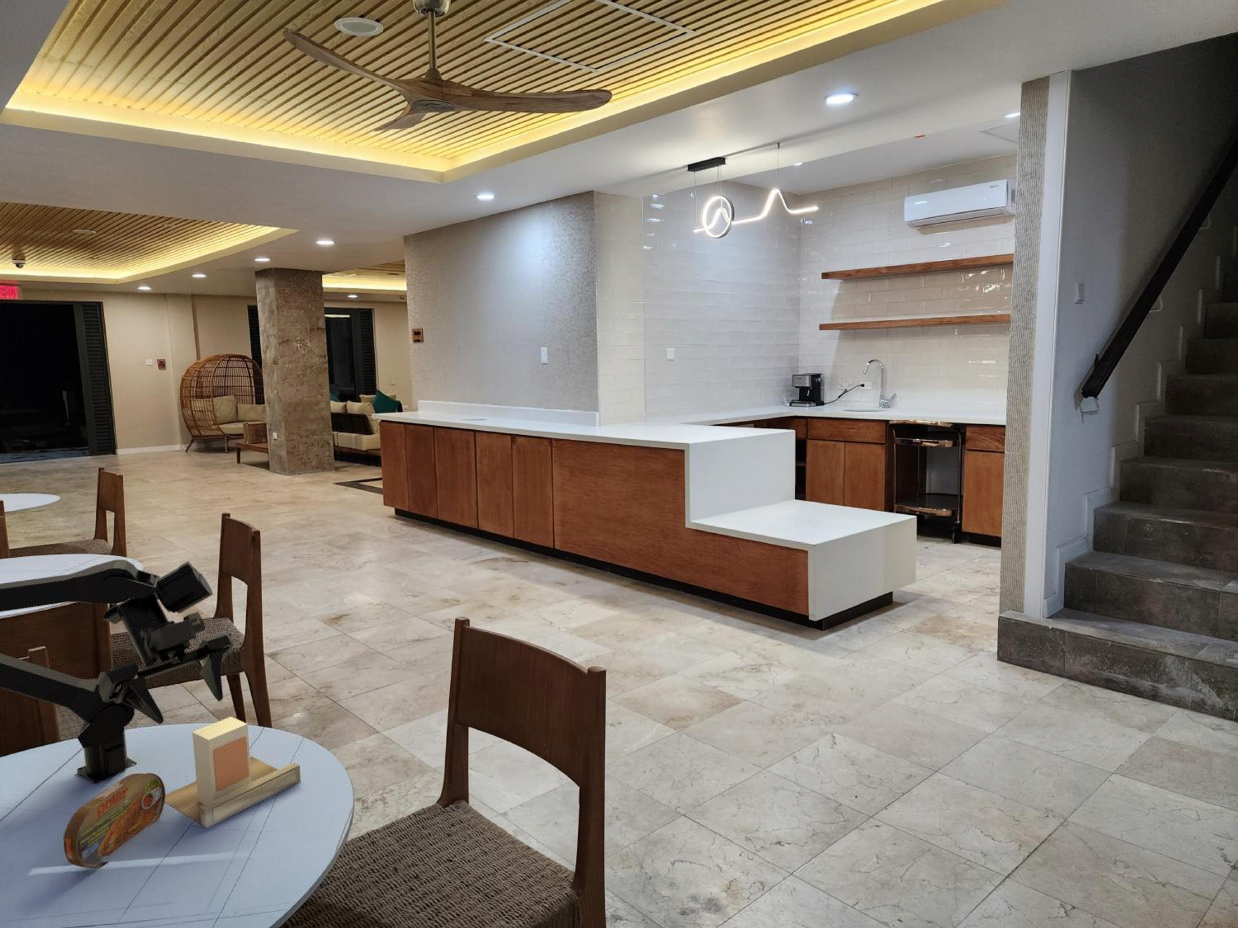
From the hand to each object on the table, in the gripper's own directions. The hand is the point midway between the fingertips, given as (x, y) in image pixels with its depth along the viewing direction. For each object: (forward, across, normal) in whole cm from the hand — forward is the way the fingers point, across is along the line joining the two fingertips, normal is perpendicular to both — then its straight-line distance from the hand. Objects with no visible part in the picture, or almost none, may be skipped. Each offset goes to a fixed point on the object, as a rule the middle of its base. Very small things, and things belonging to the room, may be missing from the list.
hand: (192, 710), depth 124 cm
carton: (+14, 0, +2) cm, 14 cm away
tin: (+13, -15, +4) cm, 20 cm away
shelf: (+13, +1, +4) cm, 14 cm away
